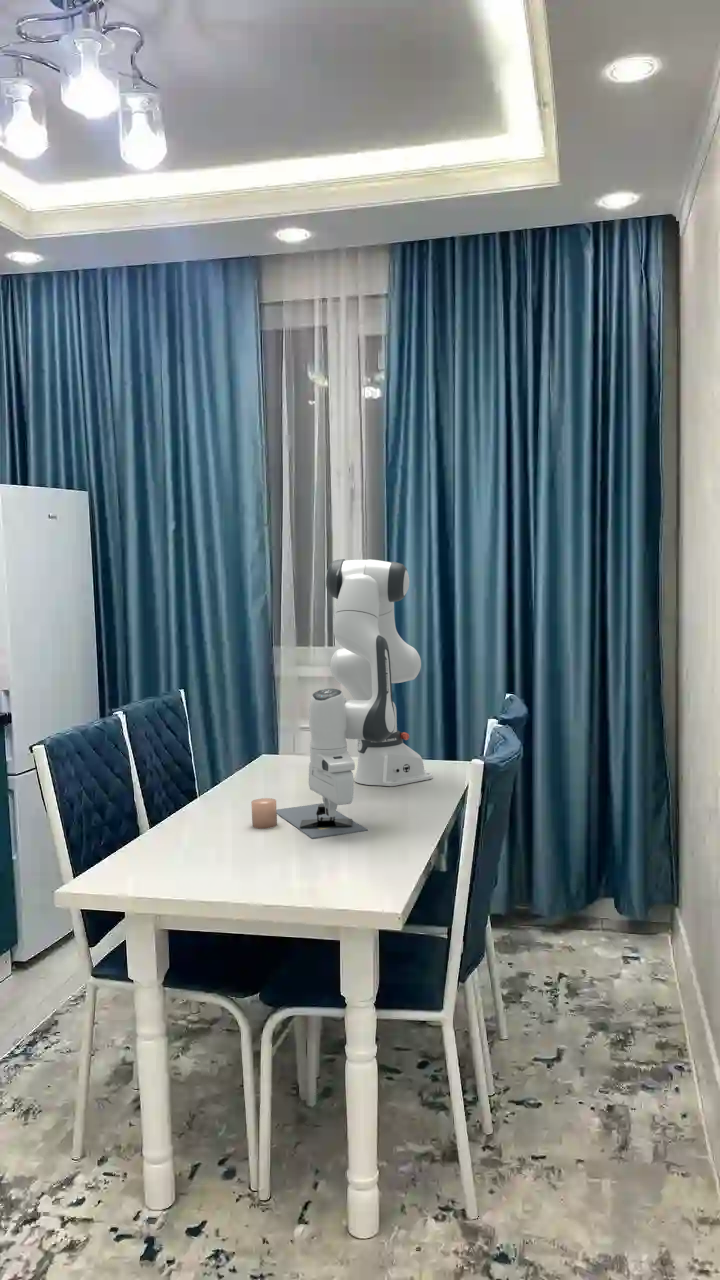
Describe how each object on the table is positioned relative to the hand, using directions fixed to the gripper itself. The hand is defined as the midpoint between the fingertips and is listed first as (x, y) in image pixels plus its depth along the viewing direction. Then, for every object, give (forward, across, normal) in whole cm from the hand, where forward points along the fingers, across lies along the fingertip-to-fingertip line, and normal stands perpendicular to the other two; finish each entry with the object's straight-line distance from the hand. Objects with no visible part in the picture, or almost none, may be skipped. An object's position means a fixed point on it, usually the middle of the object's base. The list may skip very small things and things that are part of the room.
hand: (330, 815), depth 239 cm
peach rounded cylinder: (+3, -11, -13) cm, 17 cm away
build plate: (+3, -3, 0) cm, 4 cm away
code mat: (+3, -9, 0) cm, 9 cm away
